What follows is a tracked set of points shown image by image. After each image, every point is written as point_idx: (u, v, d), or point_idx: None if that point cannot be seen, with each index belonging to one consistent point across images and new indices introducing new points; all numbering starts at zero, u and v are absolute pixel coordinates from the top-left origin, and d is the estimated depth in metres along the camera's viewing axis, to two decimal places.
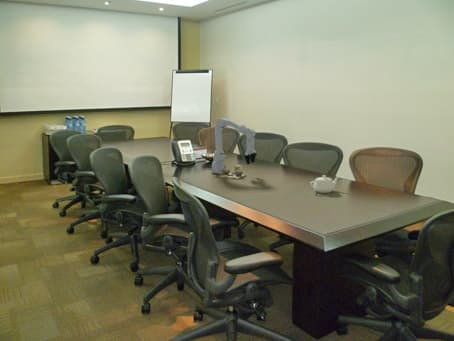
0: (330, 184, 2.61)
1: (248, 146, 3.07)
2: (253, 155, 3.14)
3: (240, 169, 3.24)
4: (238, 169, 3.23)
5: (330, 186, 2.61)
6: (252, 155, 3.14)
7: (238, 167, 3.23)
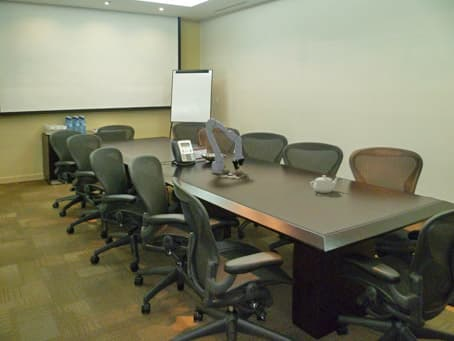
0: (330, 184, 2.61)
1: (236, 152, 3.21)
2: (241, 161, 3.27)
3: (240, 169, 3.24)
4: (238, 169, 3.23)
5: (330, 186, 2.61)
6: (240, 161, 3.28)
7: (238, 167, 3.23)
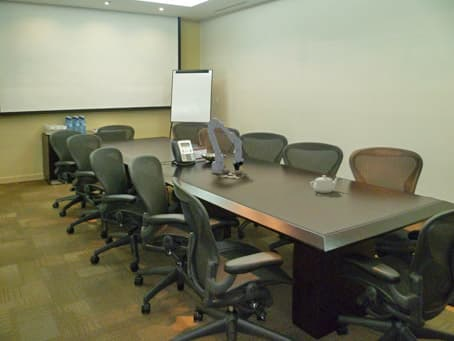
0: (330, 184, 2.61)
1: (236, 155, 3.21)
2: (240, 164, 3.26)
3: (240, 169, 3.24)
4: None
5: (330, 186, 2.61)
6: (239, 164, 3.27)
7: None
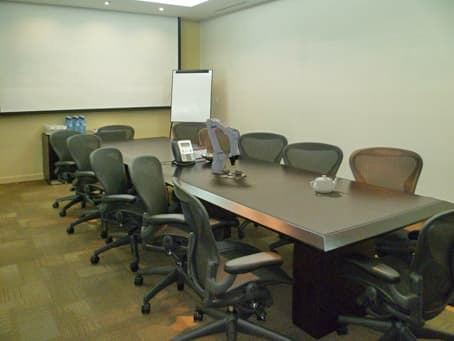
0: (330, 184, 2.61)
1: (231, 148, 3.10)
2: (236, 157, 3.15)
3: (236, 163, 3.13)
4: (234, 163, 3.12)
5: (330, 186, 2.61)
6: (235, 157, 3.16)
7: None
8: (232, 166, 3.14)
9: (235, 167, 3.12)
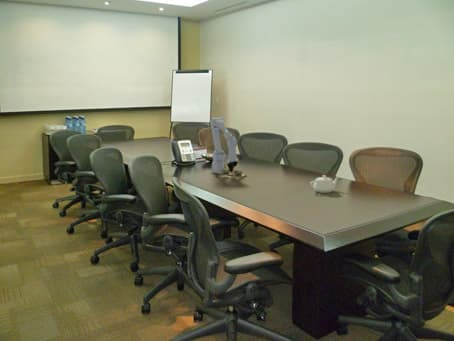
0: (330, 184, 2.61)
1: (230, 154, 3.08)
2: (234, 163, 3.13)
3: (235, 170, 3.11)
4: (233, 170, 3.10)
5: (330, 186, 2.61)
6: (233, 163, 3.13)
7: (233, 167, 3.09)
8: (230, 173, 3.11)
9: (233, 174, 3.10)
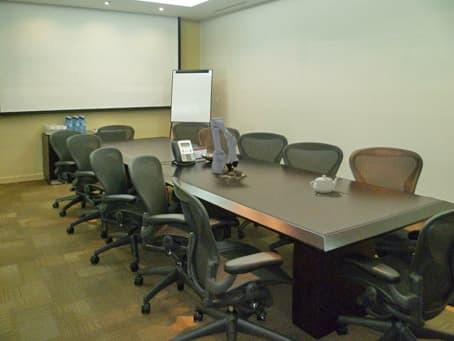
0: (330, 184, 2.61)
1: (230, 154, 3.08)
2: (235, 163, 3.14)
3: None
4: (232, 171, 3.10)
5: (330, 186, 2.61)
6: (234, 163, 3.14)
7: (232, 169, 3.09)
8: (230, 174, 3.11)
9: None
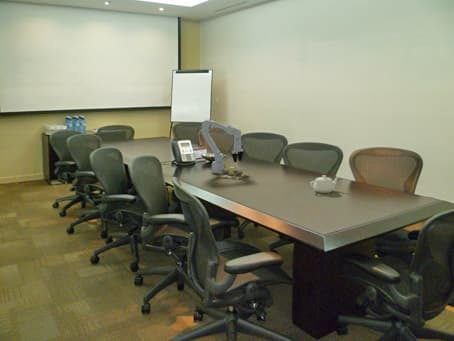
0: (330, 184, 2.61)
1: (235, 145, 3.20)
2: (240, 153, 3.26)
3: None
4: (232, 171, 3.10)
5: (330, 186, 2.61)
6: (239, 153, 3.27)
7: (232, 169, 3.09)
8: (230, 174, 3.11)
9: None
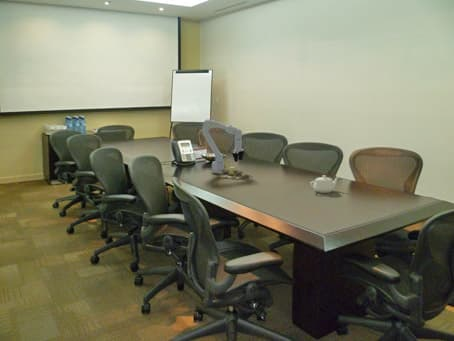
0: (330, 184, 2.61)
1: (236, 144, 3.22)
2: (241, 153, 3.28)
3: None
4: (232, 171, 3.10)
5: (330, 186, 2.61)
6: (240, 153, 3.29)
7: (232, 169, 3.09)
8: (230, 174, 3.11)
9: None
